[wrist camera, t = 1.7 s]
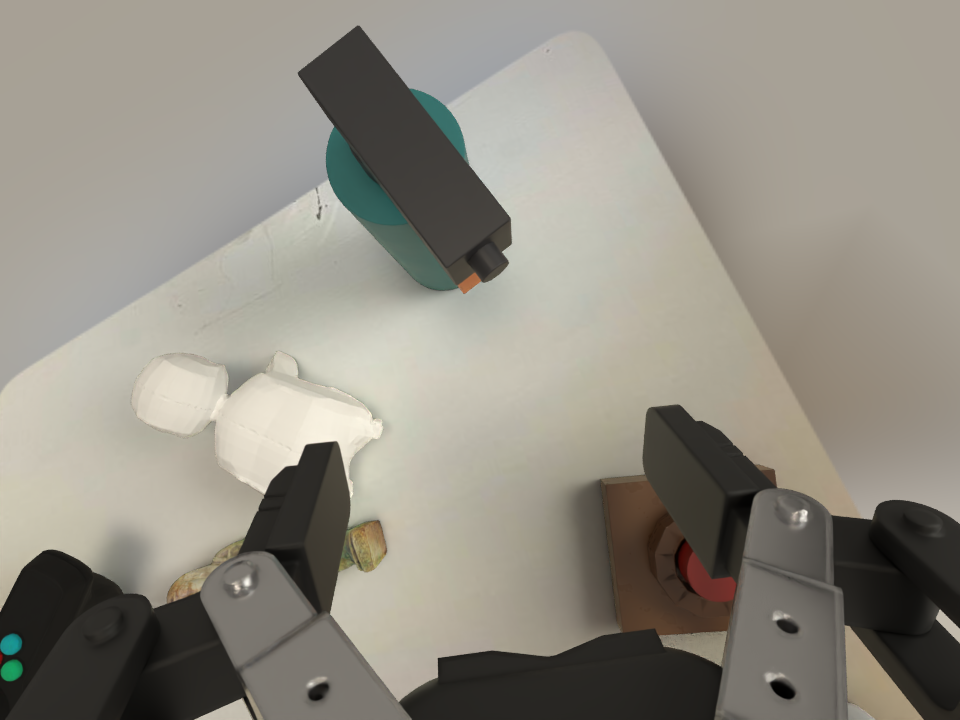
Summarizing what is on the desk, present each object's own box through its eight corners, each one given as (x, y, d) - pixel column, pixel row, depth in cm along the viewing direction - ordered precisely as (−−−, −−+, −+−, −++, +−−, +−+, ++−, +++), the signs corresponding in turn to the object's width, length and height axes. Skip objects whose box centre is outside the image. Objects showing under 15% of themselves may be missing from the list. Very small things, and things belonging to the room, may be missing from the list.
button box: (758, 464, 35) (789, 474, 31) (779, 611, 34) (813, 640, 30) (600, 478, 36) (610, 490, 32) (616, 622, 35) (629, 652, 31)
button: (732, 529, 31) (745, 538, 30) (740, 588, 31) (753, 600, 29) (674, 534, 32) (683, 543, 30) (681, 592, 31) (691, 604, 30)
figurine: (394, 588, 36) (379, 612, 33) (196, 617, 37) (160, 643, 34) (382, 513, 37) (367, 527, 33) (187, 543, 38) (150, 560, 34)
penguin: (385, 395, 40) (193, 314, 36) (396, 418, 32) (149, 316, 28) (340, 492, 40) (141, 422, 36) (339, 540, 32) (82, 456, 28)
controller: (51, 665, 38) (-114, 764, 28) (121, 516, 38) (-19, 561, 28) (98, 692, 38) (-52, 802, 28) (169, 541, 38) (45, 596, 28)
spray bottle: (385, 241, 38) (237, 78, 18) (452, 189, 38) (378, -33, 18) (472, 357, 37) (419, 321, 17) (542, 305, 37) (570, 206, 17)
